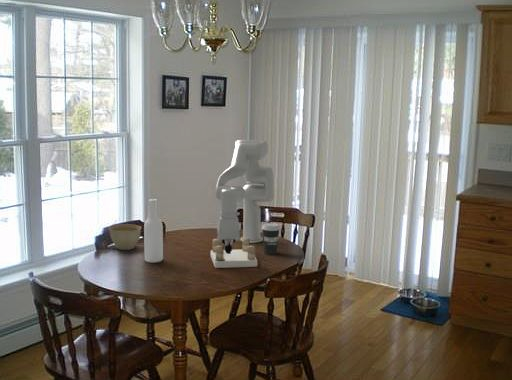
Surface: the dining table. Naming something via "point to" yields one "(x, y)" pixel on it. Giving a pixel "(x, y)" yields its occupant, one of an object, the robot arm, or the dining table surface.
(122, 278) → the dining table surface
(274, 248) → the coffee cup
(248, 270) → the dining table surface
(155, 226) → the alcohol
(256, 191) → the robot arm
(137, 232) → the planter bowl
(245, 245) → the fixed legs
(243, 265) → the footstool seat
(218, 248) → the swing leg
